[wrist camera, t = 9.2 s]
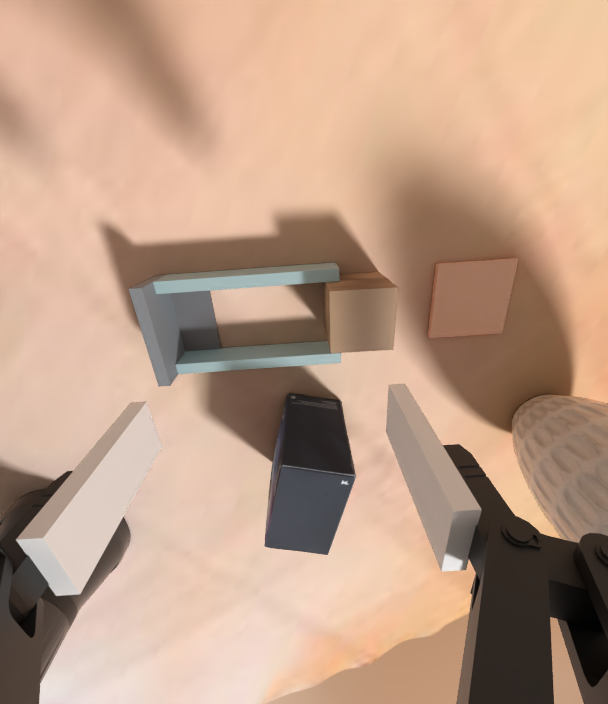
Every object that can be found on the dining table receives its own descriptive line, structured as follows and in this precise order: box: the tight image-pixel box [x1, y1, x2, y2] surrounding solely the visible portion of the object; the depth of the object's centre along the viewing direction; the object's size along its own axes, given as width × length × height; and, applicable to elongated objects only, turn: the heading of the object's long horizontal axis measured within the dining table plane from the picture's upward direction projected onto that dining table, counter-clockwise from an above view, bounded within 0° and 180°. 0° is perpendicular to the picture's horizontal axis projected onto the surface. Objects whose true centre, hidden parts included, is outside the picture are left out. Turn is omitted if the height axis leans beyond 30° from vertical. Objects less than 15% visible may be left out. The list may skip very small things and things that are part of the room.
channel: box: [129, 262, 341, 386], centre depth 27 cm, size 16×8×5 cm, turn 94°
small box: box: [265, 394, 356, 555], centre depth 31 cm, size 11×6×10 cm, turn 169°
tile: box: [428, 258, 519, 338], centre depth 29 cm, size 7×7×1 cm
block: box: [323, 272, 398, 353], centre depth 26 cm, size 5×5×6 cm
